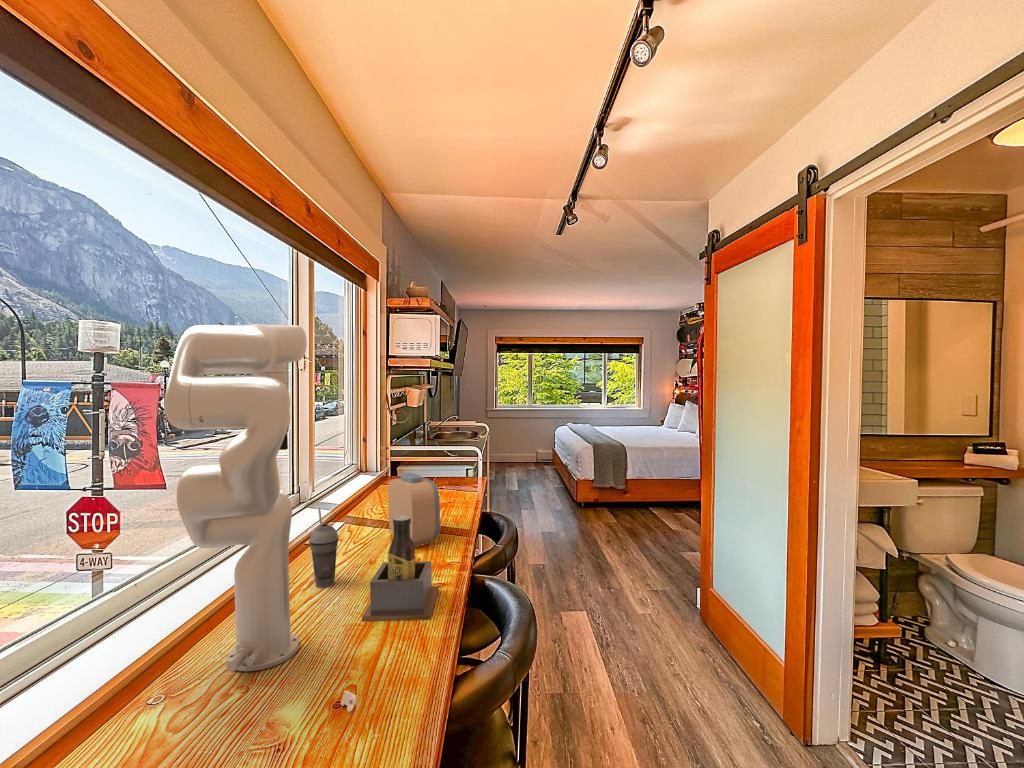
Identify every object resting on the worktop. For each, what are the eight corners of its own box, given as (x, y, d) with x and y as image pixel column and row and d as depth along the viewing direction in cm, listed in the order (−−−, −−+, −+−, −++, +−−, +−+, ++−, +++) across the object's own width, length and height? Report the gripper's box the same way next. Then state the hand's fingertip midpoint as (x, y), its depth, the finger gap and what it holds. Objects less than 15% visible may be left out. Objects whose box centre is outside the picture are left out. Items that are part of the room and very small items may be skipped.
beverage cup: (329, 591, 127) (328, 512, 127) (304, 589, 129) (302, 511, 128) (345, 579, 134) (343, 505, 134) (320, 577, 136) (318, 504, 136)
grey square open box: (429, 619, 111) (429, 583, 111) (361, 620, 111) (361, 585, 111) (439, 590, 126) (438, 558, 126) (379, 591, 126) (378, 560, 126)
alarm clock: (441, 546, 160) (439, 478, 160) (413, 552, 155) (411, 482, 154) (415, 530, 177) (413, 469, 177) (388, 535, 172) (387, 472, 171)
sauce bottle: (382, 601, 119) (381, 517, 118) (405, 592, 123) (403, 511, 123) (399, 609, 114) (397, 522, 114) (421, 600, 119) (419, 516, 118)
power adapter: (338, 710, 82) (338, 691, 82) (351, 702, 84) (351, 683, 84) (351, 717, 80) (350, 697, 80) (363, 708, 83) (363, 689, 82)
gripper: (268, 381, 111) (270, 458, 111) (300, 380, 128) (302, 447, 129) (234, 381, 111) (236, 459, 111) (271, 380, 128) (272, 447, 129)
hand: (271, 452), depth 120 cm, fingers open, 9 cm apart
